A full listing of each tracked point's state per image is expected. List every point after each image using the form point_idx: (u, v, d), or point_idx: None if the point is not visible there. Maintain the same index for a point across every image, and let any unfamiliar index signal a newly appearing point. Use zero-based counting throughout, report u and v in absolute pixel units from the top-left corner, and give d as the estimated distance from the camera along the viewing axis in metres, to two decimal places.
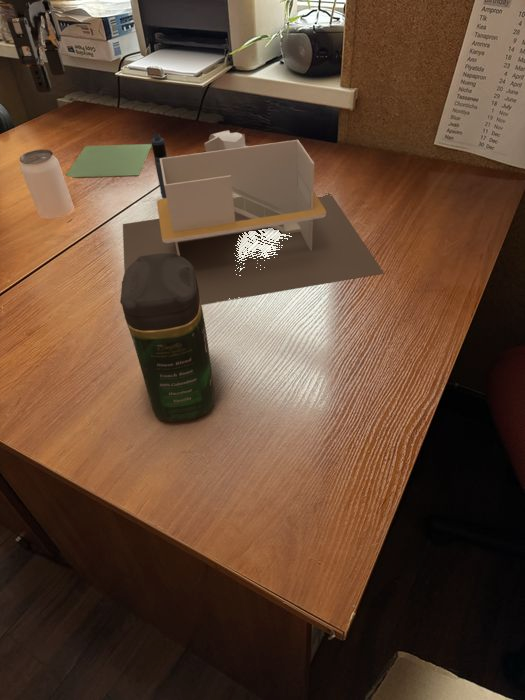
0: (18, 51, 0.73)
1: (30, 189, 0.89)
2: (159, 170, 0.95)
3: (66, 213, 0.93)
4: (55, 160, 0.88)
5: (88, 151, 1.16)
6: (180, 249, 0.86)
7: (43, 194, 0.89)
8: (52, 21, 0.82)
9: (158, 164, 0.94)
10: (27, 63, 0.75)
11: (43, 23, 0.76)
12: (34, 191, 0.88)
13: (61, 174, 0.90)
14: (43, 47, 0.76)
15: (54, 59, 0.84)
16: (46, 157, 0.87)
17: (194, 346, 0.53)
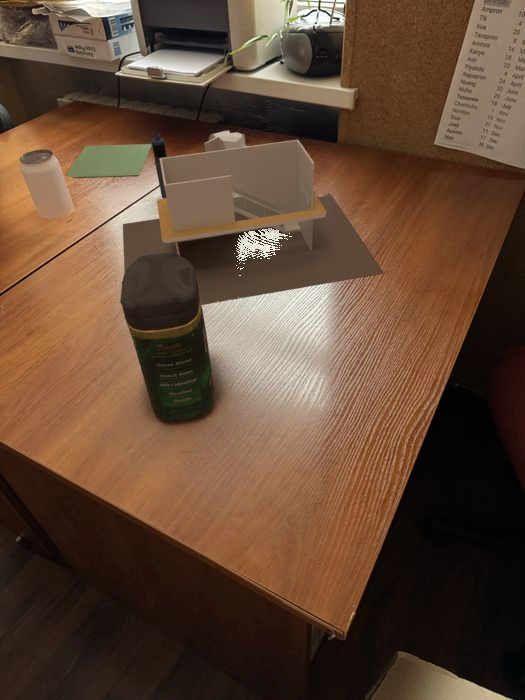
0: None
1: (30, 189, 0.89)
2: (159, 170, 0.95)
3: (66, 213, 0.93)
4: (55, 160, 0.88)
5: (88, 151, 1.16)
6: (180, 249, 0.86)
7: (43, 194, 0.89)
8: None
9: (158, 164, 0.94)
10: None
11: None
12: (34, 191, 0.88)
13: (61, 174, 0.90)
14: None
15: None
16: (46, 157, 0.87)
17: (194, 346, 0.53)
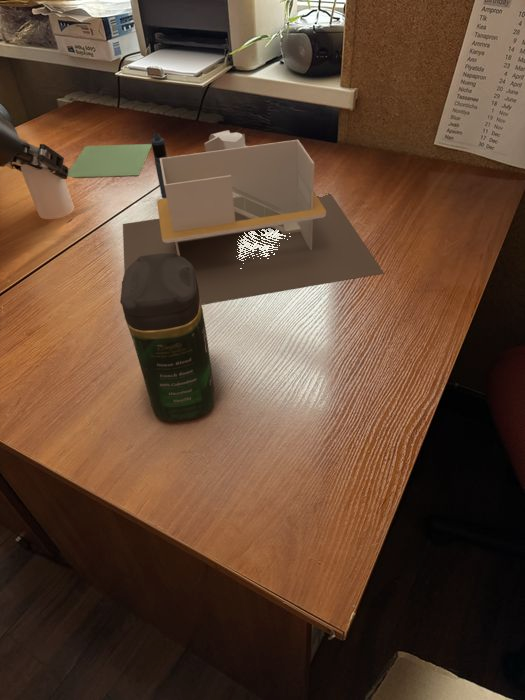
0: None
1: (30, 189, 0.89)
2: (159, 170, 0.95)
3: (66, 213, 0.93)
4: None
5: (88, 151, 1.16)
6: (180, 249, 0.86)
7: (43, 194, 0.89)
8: None
9: (158, 164, 0.94)
10: None
11: None
12: (34, 191, 0.88)
13: None
14: (9, 166, 0.86)
15: None
16: None
17: (194, 346, 0.53)
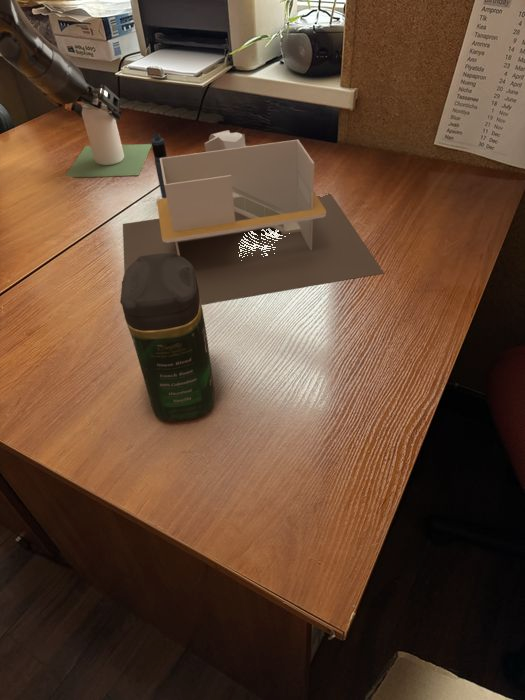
0: None
1: (89, 132, 1.06)
2: (159, 170, 0.95)
3: (117, 154, 1.10)
4: None
5: (88, 151, 1.16)
6: (180, 249, 0.86)
7: (100, 136, 1.06)
8: None
9: (158, 164, 0.94)
10: None
11: None
12: (92, 134, 1.06)
13: (114, 120, 1.07)
14: (68, 107, 1.02)
15: None
16: (103, 104, 1.04)
17: (194, 346, 0.53)
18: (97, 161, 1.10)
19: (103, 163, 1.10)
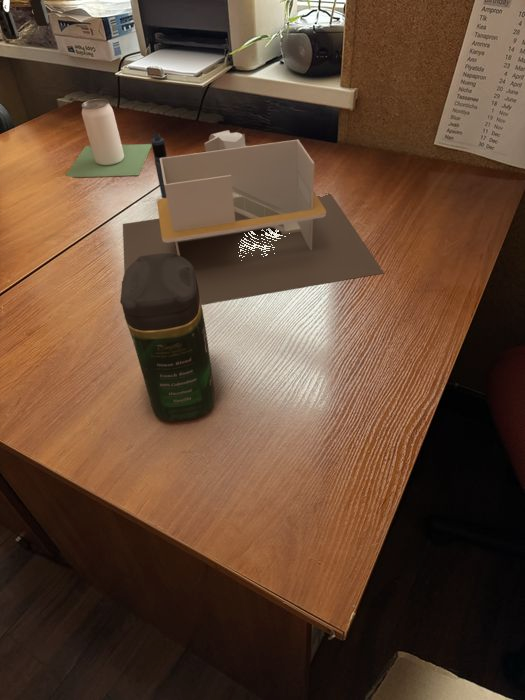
0: None
1: (89, 132, 1.06)
2: (159, 170, 0.95)
3: (117, 154, 1.10)
4: (110, 107, 1.05)
5: (88, 151, 1.16)
6: (180, 249, 0.86)
7: (100, 136, 1.06)
8: None
9: (158, 164, 0.94)
10: None
11: None
12: (92, 133, 1.06)
13: (114, 120, 1.07)
14: None
15: (38, 9, 0.85)
16: (103, 104, 1.04)
17: (194, 346, 0.53)
18: (97, 161, 1.10)
19: (103, 163, 1.10)
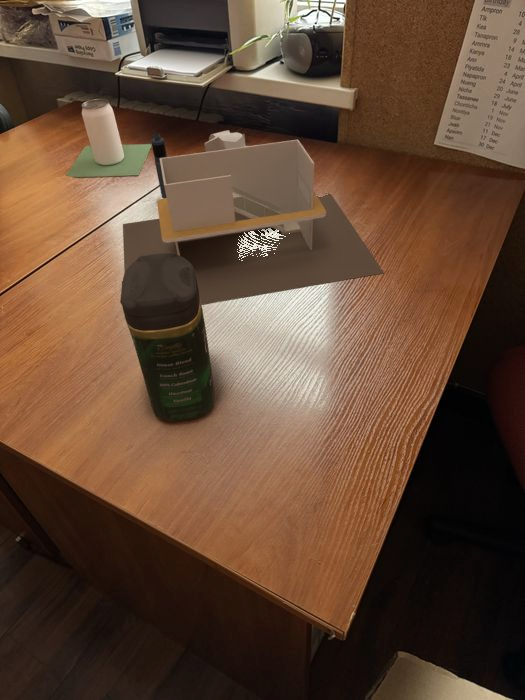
0: None
1: (89, 132, 1.06)
2: (159, 170, 0.95)
3: (117, 154, 1.10)
4: (110, 107, 1.05)
5: (88, 151, 1.16)
6: (180, 249, 0.86)
7: (100, 136, 1.06)
8: None
9: (158, 164, 0.94)
10: None
11: None
12: (92, 133, 1.06)
13: (114, 120, 1.07)
14: None
15: None
16: (103, 104, 1.04)
17: (194, 346, 0.53)
18: (97, 161, 1.10)
19: (103, 163, 1.10)
